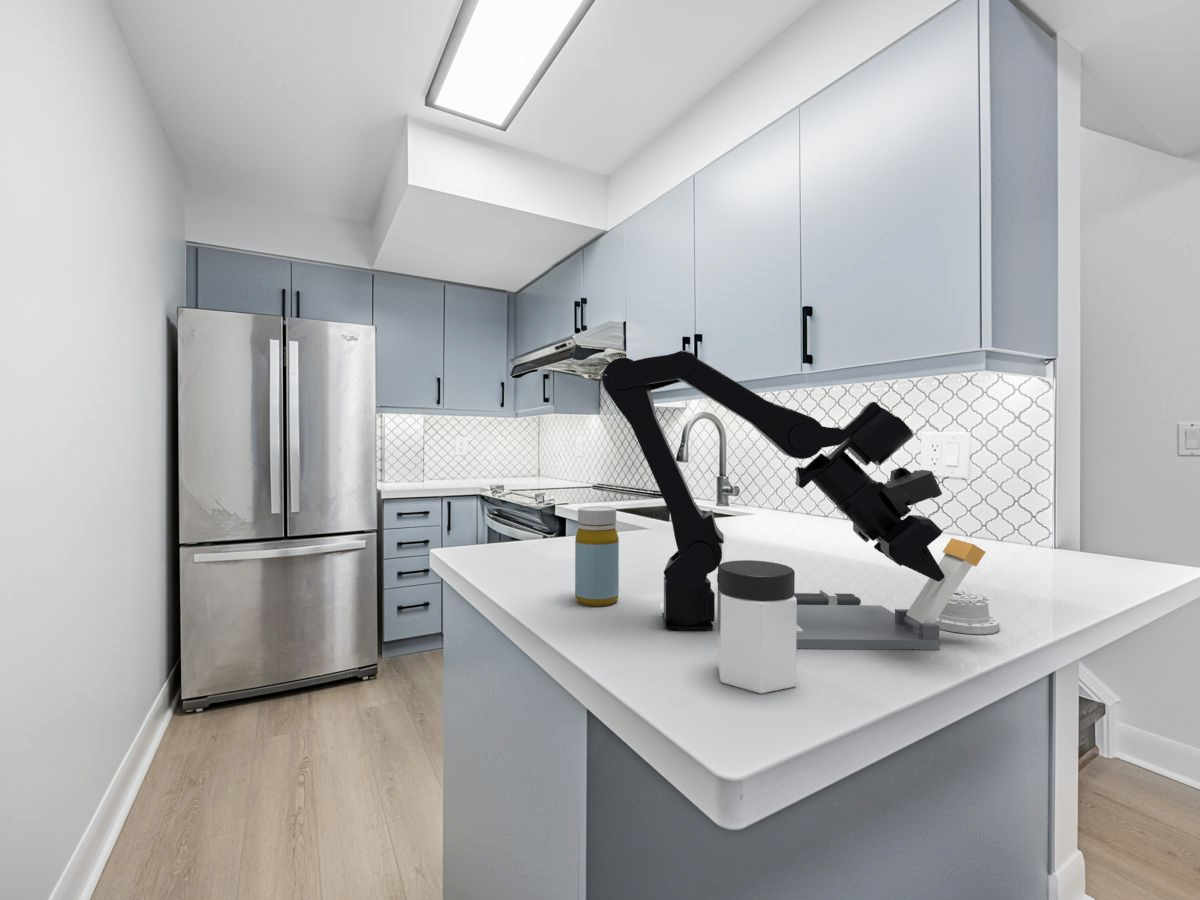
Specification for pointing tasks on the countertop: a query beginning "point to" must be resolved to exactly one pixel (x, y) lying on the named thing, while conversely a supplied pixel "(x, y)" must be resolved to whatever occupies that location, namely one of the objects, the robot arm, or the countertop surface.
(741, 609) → the jar
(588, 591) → the bottle
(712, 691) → the countertop surface
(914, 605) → the lever
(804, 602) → the dressed cords
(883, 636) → the plate
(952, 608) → the mechanical component
